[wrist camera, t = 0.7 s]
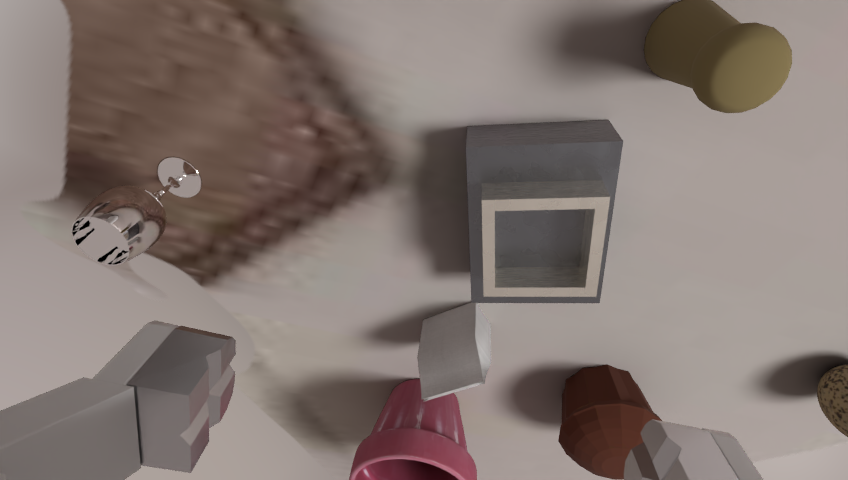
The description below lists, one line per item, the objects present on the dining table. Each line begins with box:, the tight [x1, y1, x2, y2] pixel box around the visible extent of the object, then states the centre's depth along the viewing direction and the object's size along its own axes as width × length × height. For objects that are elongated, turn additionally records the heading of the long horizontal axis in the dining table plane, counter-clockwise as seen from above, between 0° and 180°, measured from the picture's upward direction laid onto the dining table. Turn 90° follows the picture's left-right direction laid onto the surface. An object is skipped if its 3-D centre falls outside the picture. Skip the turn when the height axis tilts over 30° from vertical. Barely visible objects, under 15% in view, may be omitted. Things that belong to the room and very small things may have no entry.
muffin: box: [559, 365, 662, 479], centre depth 54 cm, size 12×11×10 cm
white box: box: [417, 302, 491, 402], centre depth 51 cm, size 4×7×10 cm, turn 120°
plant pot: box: [349, 379, 477, 480], centre depth 58 cm, size 14×14×13 cm
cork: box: [644, 0, 792, 113], centre depth 32 cm, size 6×6×11 cm
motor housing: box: [466, 120, 623, 303], centre depth 43 cm, size 16×12×8 cm
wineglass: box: [71, 157, 202, 265], centre depth 43 cm, size 6×6×12 cm
